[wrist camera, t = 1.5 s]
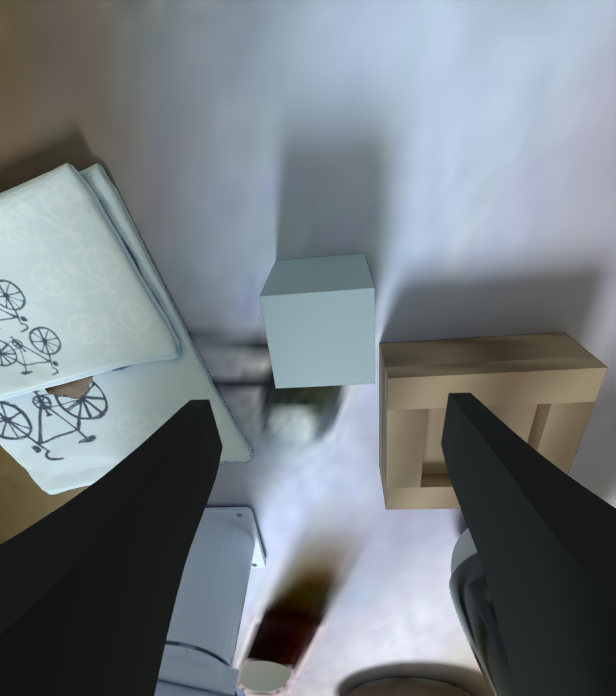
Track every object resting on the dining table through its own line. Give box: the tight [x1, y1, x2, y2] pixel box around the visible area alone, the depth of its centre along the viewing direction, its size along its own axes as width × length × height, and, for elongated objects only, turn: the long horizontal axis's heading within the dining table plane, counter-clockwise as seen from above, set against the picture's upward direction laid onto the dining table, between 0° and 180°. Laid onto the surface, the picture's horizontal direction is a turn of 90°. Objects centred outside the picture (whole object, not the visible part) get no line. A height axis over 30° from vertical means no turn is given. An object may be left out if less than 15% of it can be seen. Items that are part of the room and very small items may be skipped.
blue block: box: [259, 253, 375, 388], centre depth 17 cm, size 4×4×5 cm
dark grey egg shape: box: [449, 528, 516, 696], centre depth 22 cm, size 10×10×15 cm
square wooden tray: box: [379, 332, 608, 509], centre depth 21 cm, size 10×10×4 cm
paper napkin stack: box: [0, 163, 253, 495], centre depth 22 cm, size 19×20×2 cm
